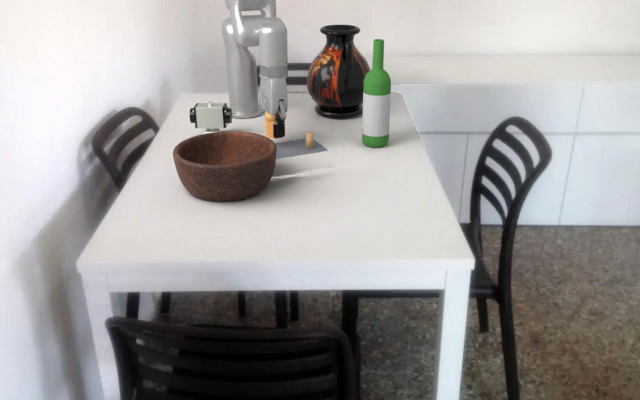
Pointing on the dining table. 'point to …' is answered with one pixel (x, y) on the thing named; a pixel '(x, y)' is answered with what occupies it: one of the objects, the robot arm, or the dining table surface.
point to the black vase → (338, 74)
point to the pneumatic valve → (211, 116)
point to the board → (298, 147)
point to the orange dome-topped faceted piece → (270, 125)
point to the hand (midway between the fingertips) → (275, 133)
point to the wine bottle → (376, 101)
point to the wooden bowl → (225, 164)
